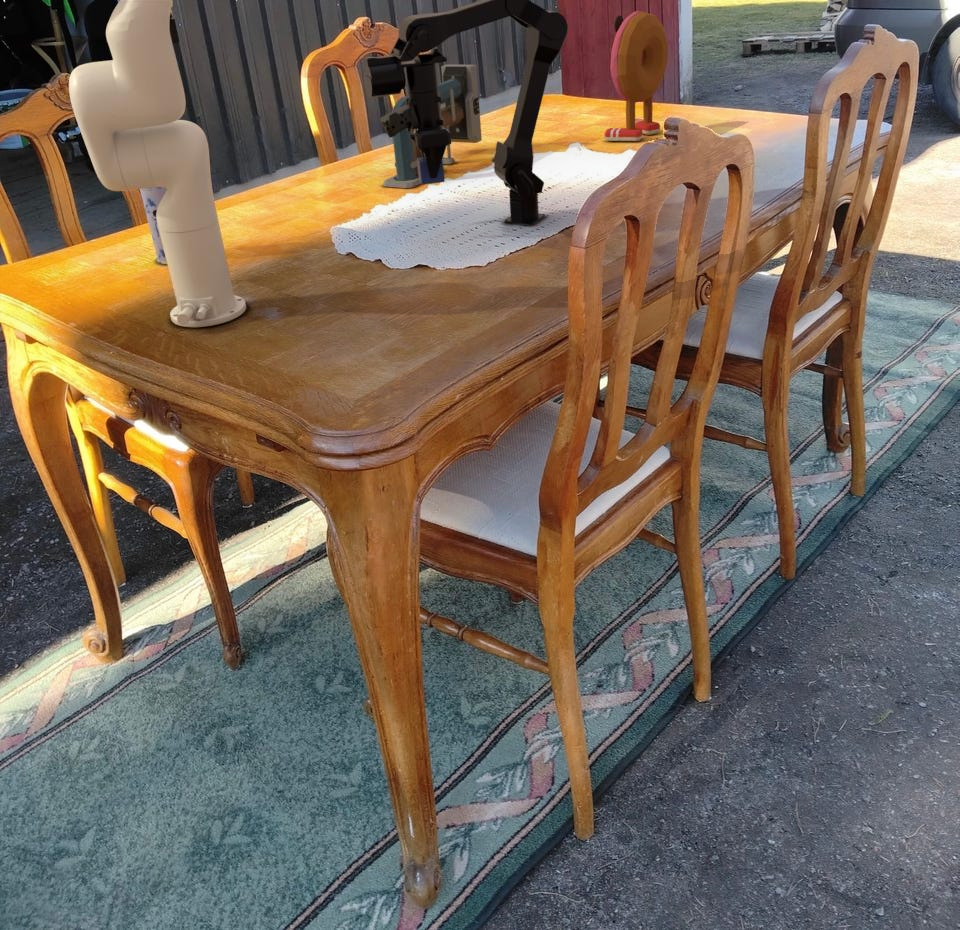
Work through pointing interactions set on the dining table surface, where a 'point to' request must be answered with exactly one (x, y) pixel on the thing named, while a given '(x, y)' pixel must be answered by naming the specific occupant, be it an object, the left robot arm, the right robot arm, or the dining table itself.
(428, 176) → the block
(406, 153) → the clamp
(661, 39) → the toy
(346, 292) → the dining table surface
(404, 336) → the dining table surface
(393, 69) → the right robot arm
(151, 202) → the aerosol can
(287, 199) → the dining table surface
